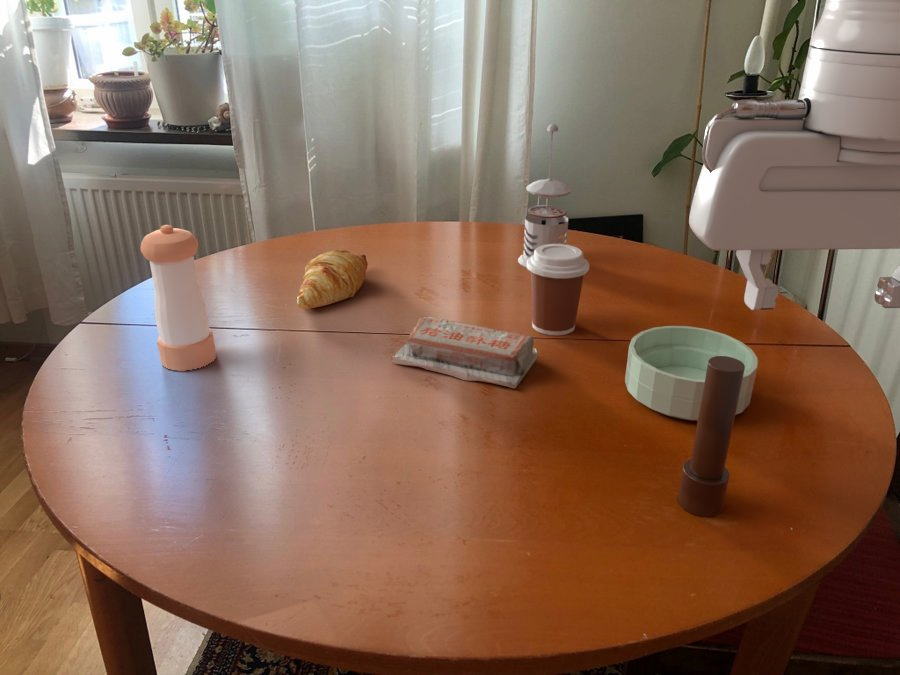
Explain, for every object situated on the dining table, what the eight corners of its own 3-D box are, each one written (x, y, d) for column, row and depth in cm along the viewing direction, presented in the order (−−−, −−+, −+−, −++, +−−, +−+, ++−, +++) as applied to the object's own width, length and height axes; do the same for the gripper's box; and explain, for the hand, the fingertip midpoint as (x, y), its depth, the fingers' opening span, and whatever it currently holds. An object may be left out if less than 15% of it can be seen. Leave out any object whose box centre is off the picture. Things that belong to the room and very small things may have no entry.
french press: (520, 270, 134) (527, 129, 123) (514, 249, 144) (520, 117, 133) (574, 270, 134) (586, 129, 123) (565, 249, 144) (575, 117, 133)
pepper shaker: (219, 365, 101) (198, 230, 92) (163, 375, 98) (136, 237, 90) (213, 343, 107) (193, 214, 98) (159, 352, 104) (134, 220, 96)
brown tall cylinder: (707, 486, 77) (733, 350, 70) (731, 513, 74) (762, 371, 67) (669, 492, 76) (692, 355, 69) (692, 520, 73) (718, 377, 66)
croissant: (319, 336, 117) (337, 299, 112) (266, 301, 117) (282, 263, 113) (376, 286, 134) (393, 252, 130) (330, 256, 135) (346, 221, 130)
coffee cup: (549, 344, 107) (554, 266, 102) (511, 322, 114) (514, 247, 109) (596, 330, 111) (603, 254, 106) (557, 309, 118) (562, 237, 113)
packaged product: (541, 327, 101) (517, 358, 93) (539, 358, 103) (515, 392, 95) (421, 305, 107) (389, 333, 99) (422, 335, 109) (391, 365, 101)
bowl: (706, 359, 103) (712, 320, 100) (774, 416, 90) (784, 373, 87) (605, 372, 100) (609, 332, 97) (661, 433, 86) (667, 388, 84)
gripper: (731, 107, 42) (693, 327, 48) (1074, 108, 43) (995, 323, 49) (692, 92, 48) (663, 290, 54) (997, 92, 49) (934, 287, 55)
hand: (824, 306), depth 52 cm, fingers open, 8 cm apart
